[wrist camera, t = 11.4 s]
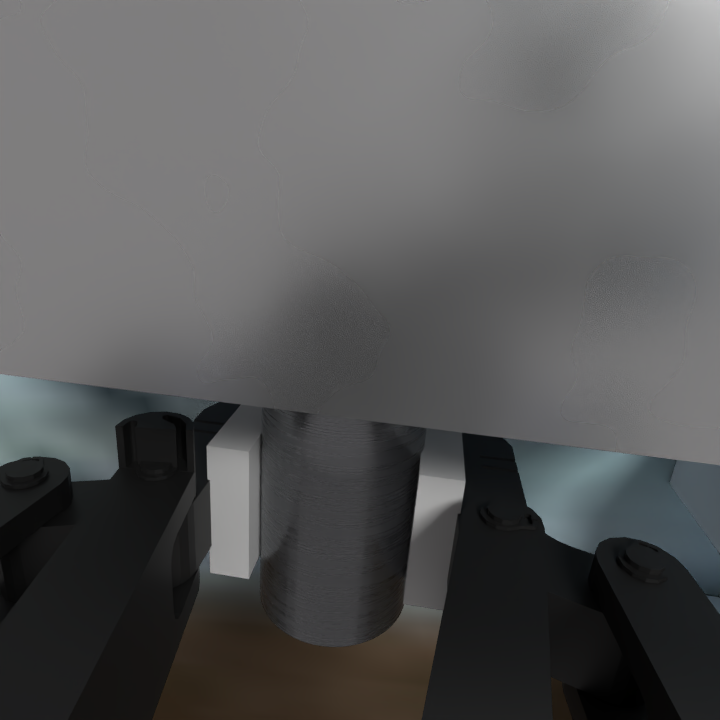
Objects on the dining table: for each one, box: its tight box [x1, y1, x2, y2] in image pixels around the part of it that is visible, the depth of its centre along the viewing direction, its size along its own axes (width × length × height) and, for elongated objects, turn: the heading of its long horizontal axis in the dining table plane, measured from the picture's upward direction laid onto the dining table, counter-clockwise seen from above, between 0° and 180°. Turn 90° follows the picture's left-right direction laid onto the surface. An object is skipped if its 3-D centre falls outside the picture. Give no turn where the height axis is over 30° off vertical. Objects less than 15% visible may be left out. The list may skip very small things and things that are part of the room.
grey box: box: [0, 0, 720, 465], centre depth 9 cm, size 8×16×11 cm, turn 86°
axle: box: [260, 407, 427, 647], centre depth 9 cm, size 16×3×3 cm, turn 176°
